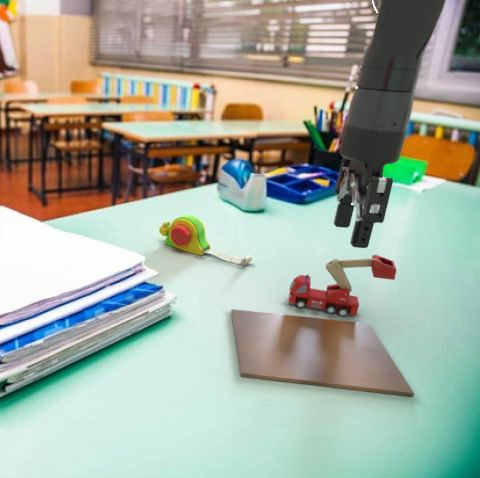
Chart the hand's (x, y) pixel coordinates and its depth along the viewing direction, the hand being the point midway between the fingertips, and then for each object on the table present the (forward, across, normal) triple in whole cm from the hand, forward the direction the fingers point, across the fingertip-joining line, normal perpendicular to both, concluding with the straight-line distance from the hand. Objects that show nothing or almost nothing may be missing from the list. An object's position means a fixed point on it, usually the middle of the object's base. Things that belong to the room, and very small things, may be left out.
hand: (349, 236), depth 72 cm
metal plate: (+12, -12, +6) cm, 18 cm away
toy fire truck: (+13, 0, 0) cm, 13 cm away
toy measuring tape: (+13, +19, +20) cm, 30 cm away
